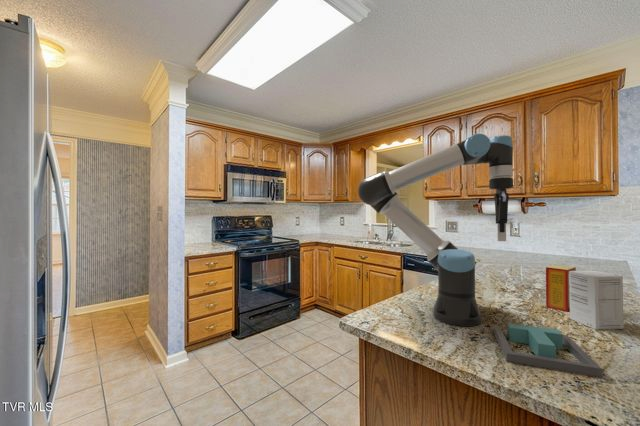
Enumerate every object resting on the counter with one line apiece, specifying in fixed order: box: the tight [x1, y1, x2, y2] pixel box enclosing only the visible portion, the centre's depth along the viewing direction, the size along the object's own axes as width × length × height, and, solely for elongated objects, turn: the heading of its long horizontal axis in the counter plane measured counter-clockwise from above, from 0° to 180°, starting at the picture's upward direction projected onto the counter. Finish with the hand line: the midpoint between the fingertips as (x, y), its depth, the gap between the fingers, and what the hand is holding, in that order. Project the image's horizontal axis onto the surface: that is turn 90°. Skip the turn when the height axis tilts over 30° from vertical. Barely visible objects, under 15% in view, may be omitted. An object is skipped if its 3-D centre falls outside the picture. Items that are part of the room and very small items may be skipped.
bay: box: [493, 325, 603, 379], centre depth 74 cm, size 18×18×2 cm
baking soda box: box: [545, 264, 577, 313], centre depth 109 cm, size 10×6×16 cm
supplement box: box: [569, 270, 625, 331], centre depth 92 cm, size 10×9×17 cm
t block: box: [506, 322, 564, 359], centre depth 75 cm, size 12×12×4 cm
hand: (501, 240), depth 105 cm, fingers closed
